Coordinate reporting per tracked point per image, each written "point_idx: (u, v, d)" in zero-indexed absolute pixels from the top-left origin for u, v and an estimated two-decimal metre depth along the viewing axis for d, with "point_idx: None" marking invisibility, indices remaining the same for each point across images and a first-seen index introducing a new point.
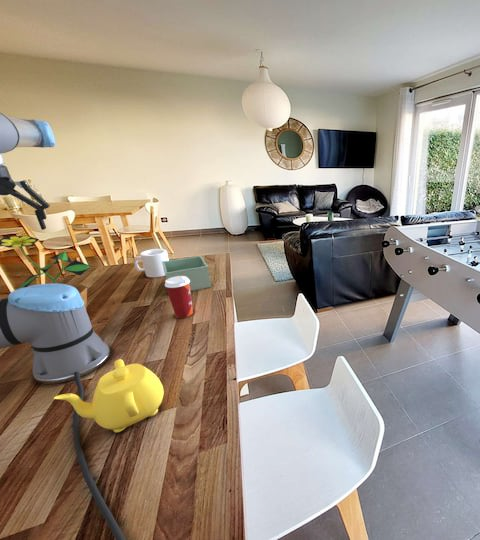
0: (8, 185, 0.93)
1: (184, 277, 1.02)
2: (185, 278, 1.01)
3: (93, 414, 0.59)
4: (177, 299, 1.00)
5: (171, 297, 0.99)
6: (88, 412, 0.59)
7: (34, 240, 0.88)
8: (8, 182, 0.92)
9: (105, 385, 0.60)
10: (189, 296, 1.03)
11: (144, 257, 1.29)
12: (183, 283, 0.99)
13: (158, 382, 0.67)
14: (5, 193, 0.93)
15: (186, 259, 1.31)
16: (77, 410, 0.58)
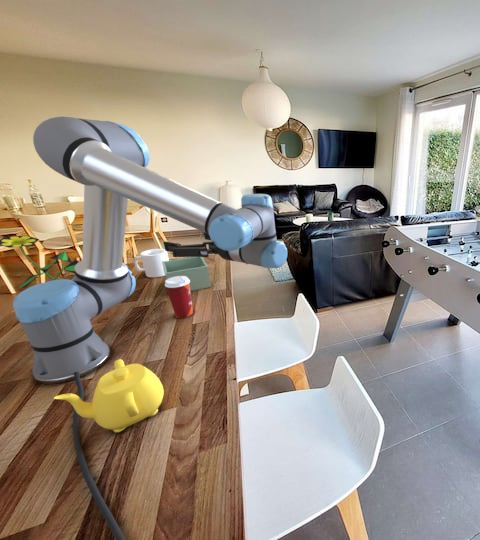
0: (212, 245, 0.82)
1: (184, 277, 1.02)
2: (185, 278, 1.01)
3: (93, 414, 0.59)
4: (177, 299, 1.00)
5: (171, 297, 0.99)
6: (88, 412, 0.59)
7: (34, 239, 0.88)
8: (214, 245, 0.81)
9: (105, 385, 0.60)
10: (189, 296, 1.03)
11: (144, 257, 1.29)
12: (183, 283, 0.99)
13: (158, 382, 0.67)
14: None
15: (186, 259, 1.31)
16: (77, 410, 0.58)
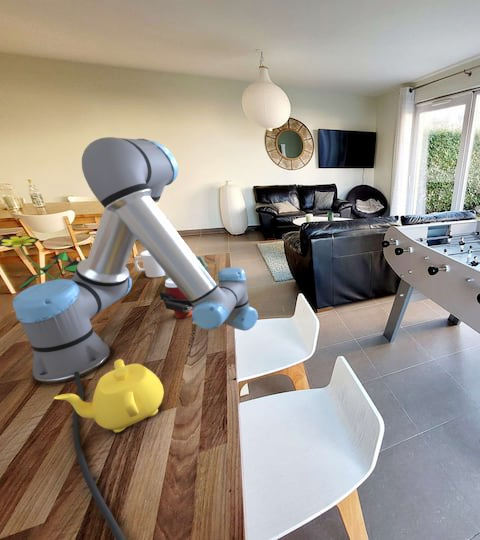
0: None
1: None
2: None
3: (93, 414, 0.59)
4: None
5: None
6: (88, 412, 0.59)
7: (34, 239, 0.88)
8: None
9: (105, 385, 0.60)
10: None
11: (144, 257, 1.29)
12: None
13: (158, 382, 0.67)
14: None
15: None
16: (77, 410, 0.58)
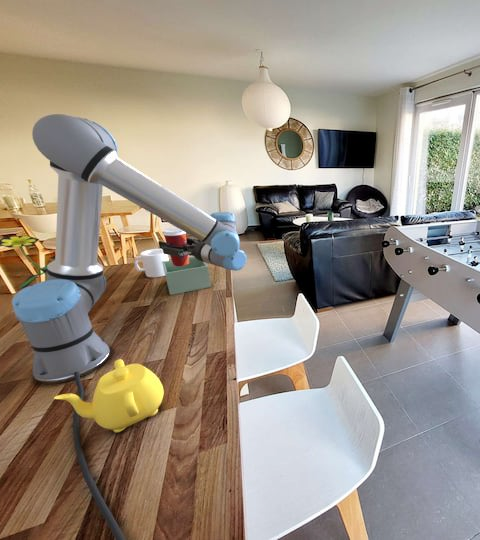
0: (190, 248, 1.03)
1: None
2: None
3: (93, 414, 0.59)
4: None
5: None
6: (88, 412, 0.59)
7: (34, 239, 0.88)
8: (191, 249, 1.03)
9: (105, 385, 0.60)
10: None
11: (144, 257, 1.29)
12: (180, 232, 1.08)
13: (158, 382, 0.67)
14: None
15: None
16: (77, 410, 0.58)
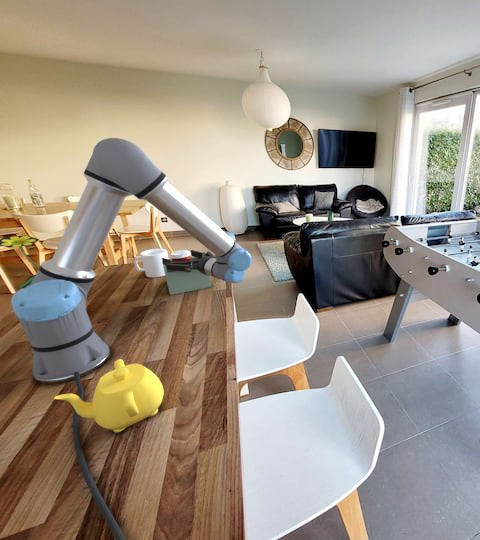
0: (194, 263, 1.16)
1: (186, 250, 1.25)
2: (186, 251, 1.24)
3: (93, 414, 0.59)
4: None
5: None
6: (88, 412, 0.59)
7: (34, 239, 0.88)
8: (195, 264, 1.15)
9: (105, 385, 0.60)
10: None
11: (144, 257, 1.29)
12: (185, 255, 1.22)
13: (158, 382, 0.67)
14: None
15: None
16: (77, 410, 0.58)
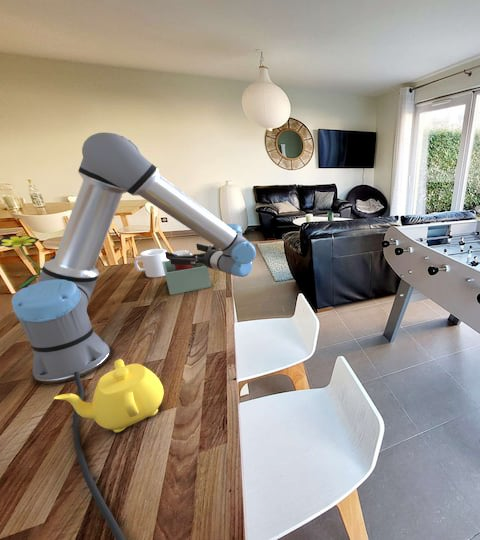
0: (200, 256, 1.13)
1: (187, 251, 1.25)
2: (188, 251, 1.24)
3: (93, 414, 0.59)
4: (181, 268, 1.22)
5: (176, 267, 1.22)
6: (88, 412, 0.59)
7: (34, 239, 0.88)
8: (201, 257, 1.12)
9: (105, 385, 0.60)
10: (191, 266, 1.25)
11: (144, 257, 1.29)
12: (186, 255, 1.22)
13: (158, 382, 0.67)
14: None
15: None
16: (77, 410, 0.58)
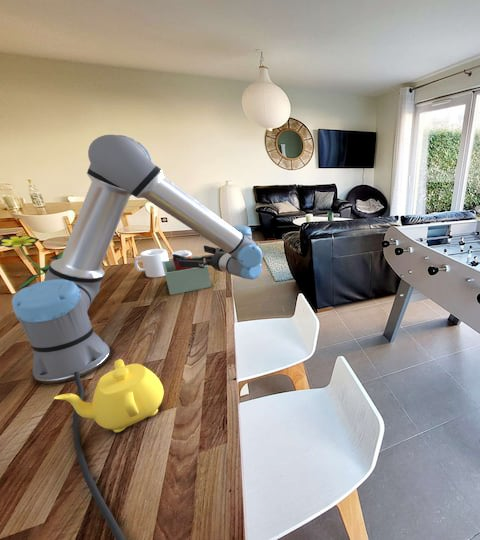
0: (208, 259, 1.11)
1: (187, 251, 1.25)
2: (188, 251, 1.24)
3: (93, 414, 0.59)
4: (181, 268, 1.22)
5: (176, 267, 1.22)
6: (88, 412, 0.59)
7: (34, 239, 0.88)
8: (209, 259, 1.10)
9: (105, 385, 0.60)
10: None
11: (144, 257, 1.29)
12: (186, 255, 1.22)
13: (158, 382, 0.67)
14: None
15: None
16: (77, 410, 0.58)
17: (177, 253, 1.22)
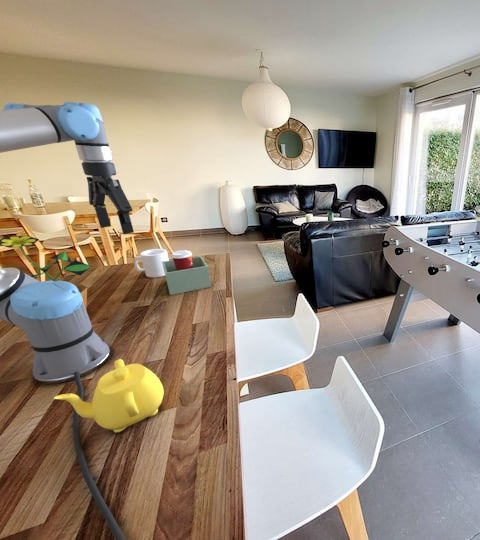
0: (104, 183, 0.87)
1: (187, 251, 1.25)
2: (188, 251, 1.24)
3: (93, 414, 0.59)
4: (181, 268, 1.22)
5: (177, 266, 1.22)
6: (88, 412, 0.59)
7: (34, 239, 0.88)
8: (103, 180, 0.86)
9: (105, 385, 0.60)
10: (191, 266, 1.26)
11: (144, 257, 1.29)
12: (186, 255, 1.22)
13: (158, 382, 0.67)
14: (104, 191, 0.88)
15: None
16: (77, 410, 0.58)
17: (177, 253, 1.22)
